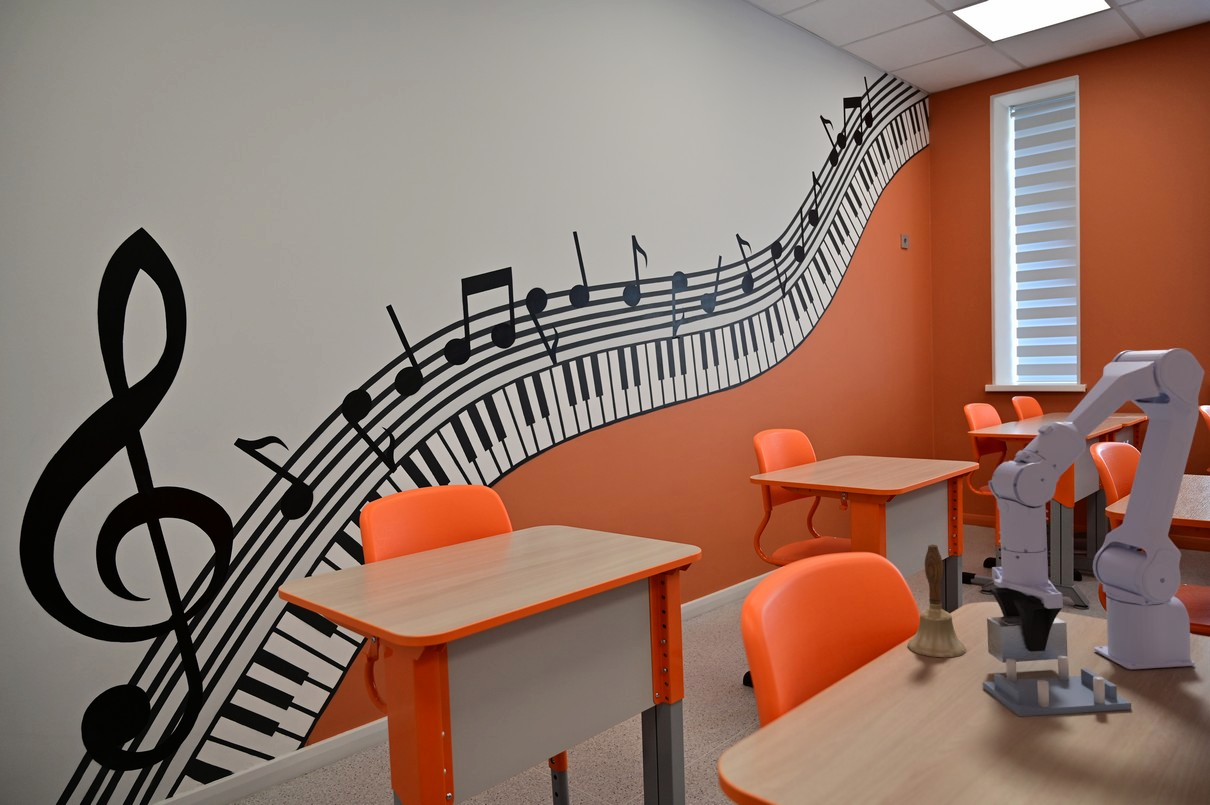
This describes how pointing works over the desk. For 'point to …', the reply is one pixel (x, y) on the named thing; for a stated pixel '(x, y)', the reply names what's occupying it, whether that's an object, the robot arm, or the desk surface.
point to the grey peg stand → (1055, 692)
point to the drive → (1023, 640)
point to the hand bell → (935, 617)
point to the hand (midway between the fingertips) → (1027, 644)
